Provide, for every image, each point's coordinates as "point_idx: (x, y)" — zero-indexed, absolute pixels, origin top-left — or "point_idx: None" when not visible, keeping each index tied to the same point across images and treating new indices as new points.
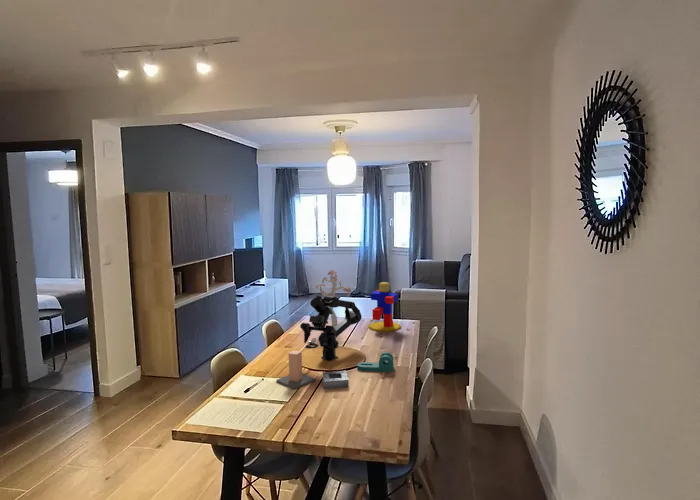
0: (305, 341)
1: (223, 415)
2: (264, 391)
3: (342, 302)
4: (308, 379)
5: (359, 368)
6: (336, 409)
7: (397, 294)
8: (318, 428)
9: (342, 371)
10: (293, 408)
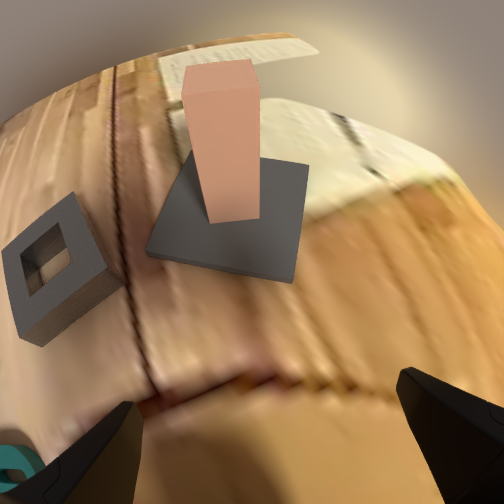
0: (407, 386)
1: (265, 52)
2: (280, 116)
3: None
4: (173, 226)
5: (24, 449)
6: (42, 151)
7: None
8: (69, 101)
9: (26, 320)
10: (137, 104)
